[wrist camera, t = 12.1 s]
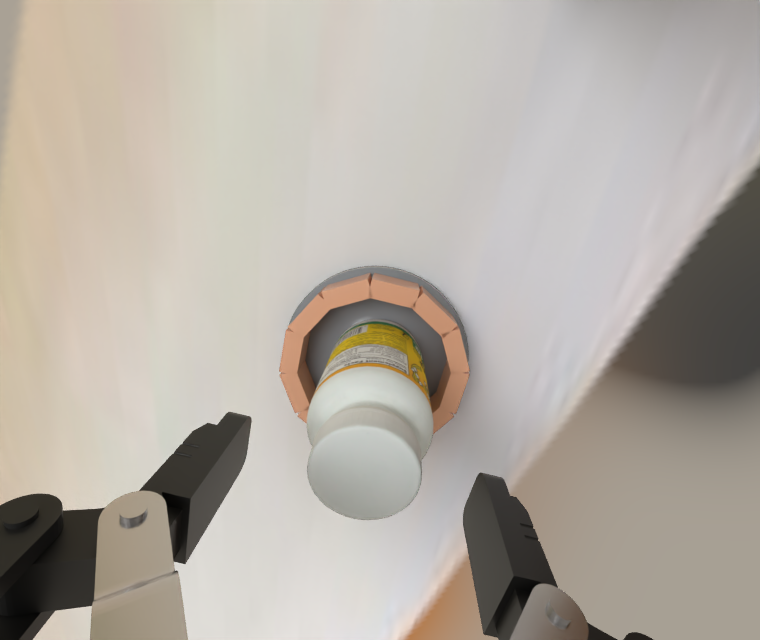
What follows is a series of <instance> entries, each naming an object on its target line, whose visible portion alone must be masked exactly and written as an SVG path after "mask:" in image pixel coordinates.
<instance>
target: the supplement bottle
mask: <svg viewBox="0 0 760 640" xmlns="http://www.w3.org/2000/svg"><path fill="white" fill-rule="evenodd" d="M307 432H308V436H309V440H310V443H311V445H312V449H311V453H310V456H309V460H308V466H307V473H308V479H309V483H310V485H311V488H312V490H313V492H314V493H315V495H316V496H317V497H318V498H319V499H320V501H321V502H322V503H323V504H324V505H326V506H327V507H328V508H330V509H331V510H333V511H335V512H337V513H339V514H341V515H344V516H346V517H350V518H354V519H361V520H374V519H381V518H386V517H389V516H392V515H394V514H396V513H398V512H400V511H401V510H403V509H404V508H405V507H407V506H408V505H409V504H410V503H411V502H412V500H413V499H414V498H415V496H416V495H417V493H418V490H419V488H420V485H421V479H422V462H421V460H422V459H423V457H424V456H425V454H426V453H427V451H428V449H429V446H430V443H431V440H432V436H433V414H432V408H431V403H430V397H429V391H428V386H427V379H426V374H425V368H424V362H423V357H422V353H421V350H420V348H419V346H418V344H417V342H416V340H415V339H414V337H413V336H412V335H411V334H410V333H409V332H408V331H407V330H406V329H405V328H404V327H402V326H401V325H399V324H396V323H394V322H391V321H387V320H381V319H372V320H366V321H362V322H360V323H357V324H355V325H353V326H351V327H350V328H349V329H347V330H346V331H345V332H344V333H343V334H342V335H341V336H340V338H339V339H338V341H337V342H336V344H335V346H334V348H333V350H332V353H331V355H330V358H329V360H328V363H327V365H326V368H325V370H324V372H323V375H322V377H321V379H320V381H319V384H318V386H317V388H316V391H315V393H314V395H313V398H312V400H311V403H310V406H309V409H308V414H307Z"/></svg>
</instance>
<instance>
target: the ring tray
mask: <svg viewBox="0 0 760 640" xmlns="http://www.w3.org/2000/svg"><path fill="white" fill-rule="evenodd" d="M372 319H381V320H387V321H391V322H394V323H396V324H399V325H401V326H402V327H404V328H405V329H406V330H407V331H408V332H409V333H410V334H411V335H412V336H413V337H414V339H415V340H416V342H417V344H418V346H419V348H420V350H421V353H422V357H423V362H424V368H425V374H426V379H427V386H428V391H429V397H430V403H431V408H432V414H433V434H434V433H435V432H436V431H437V430H439V429H440V428H441V427H442V426H443V425H445V424H446V423H447V422H448V421H449V420H451V419H452V418H453V417H454V416H453V413H454V414H456V412H457V409H458V407H459V404H460V401H461V398H462V395H463V392H464V390H465V387H466V384H467V381H468V378H469V372H468V371H470V370H469V366H468V345H467V339H466V335H465V332H464V328H463V325H462V323H461V321H460V319H459V317H458V315H457V313H456V311H455V310H454V308H453V307H452V305H451V304H450V302H449V301H448V300H447V299H446V298H445V296H444V295H443V294H442V293H441V292H440V291H439V290H437V289H436V288H435V287H434V286H433V285H432V284H430V283H429V282H427V281H425V280H424V279H422V278H421V277H418V276H416V275H414V274H412V273H410V272H407V271H404V270H401V269H397V268H391V267H386V266H366V267H358V268H354V269H349V270H346V271H343V272H341V273H338V274H336V275H334V276H332V277H330V278H328V279H326V280H325V281H324V282H322V283H321V284H319V285H318V286H317V287H316V288H315V289H314V290H313V291H312V292H310V293H309V294H308V295H307V296H306V297H305V298H304V300H303V301H302V302H301V304H300V305H299V306H298V308H297V309H296V311H295V313H294V314H293V316H292V318H291V321H290V323H289V326H288V329H287V330H286V333H285V339H284V345H283V351H282V357H281V363H280V369H279V372H281V374H280V378H281V380H282V382H283V385H284V387H285V390H286V392H287V395H288V397H289V399H290V402H291V404H292V407H293V409H294V412H295V413H297V412H299V414H298V417H299V418H300V419H302V420H303V421H304V422H305V423H307V414H308V409H309V406H310V403H311V400H312V398H313V395H314V393H315V391H316V388H317V386H318V384H319V381H320V379H321V377H322V375H323V372H324V370H325V368H326V365H327V363H328V360H329V358H330V355H331V353H332V350H333V348H334V346H335V344H336V342H337V341H338V339H339V338H340V336H341V335H342V334H343V333H344V332H345V331H346V330H347V329H349V328H350V327H351V326H353V325H355V324H357V323H360V322H362V321H366V320H372Z"/></svg>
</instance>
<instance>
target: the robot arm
mask: <svg viewBox="0 0 760 640" xmlns="http://www.w3.org/2000/svg"><path fill="white" fill-rule="evenodd" d="M250 428H251V417H249V416H245V415H241V414H237V413H233V412H228V413H227V414H226V415H225V416H224V417H223V419H222V420H221V421H220V422H219V423H218V425H214V424H210V423H207V424H205V425H203V426H201V427H200V428H198V429H196V430H194V431H193V432H192V433H191V434H190V435H189V436H188V437H187V438H186V439H185V441H184V442H183V444H182V445H180V446H179V447H178V448H177V449H176V451H175V452H174V454H172V455H171V456H170V457H169V458H168V459H167V460H166V462H165V463H164V464H163V465H162V466H161V467H160V468H159V469H158V470H157V472H156V473H155V474H154V475H153V476H152V477H151V478H150V479H149V480H148V481H147V483H146V484H145V485H144V486H143V487H142V488H141V489H140V490H139V491H136V492H131V493H128V494H125V495H123V496H121V497H119V498H117V499H115V500H114V501H112V502H111V503H110V504H109V505H107V506H106V508H100V509H86V510H68V511H63V508H62V503H61V501H60V500H59V499H58V498H57V497H55V496H53V495H49V494H31V495H26V496H22V497H19V498H16V499H13V500H11V501H8V502H6V503H4V504H2V505H0V640H33V638H34V637H35V636H36V634H37V633H38V632H39V631H40V629H41V628H42V627H43V625H44V624H45V623H46V622H47V620H48V619H49V618H50V616H51V615H52V614H53V613H54V611H55V610H63V609H71V608H78V607H86V606H92V614H91V632H90V640H188V637H187V629H186V622H185V615H184V607H183V600H182V593H181V585H180V579H179V574H178V571H175V568H174V562H178V563H183V564H186V562H187V560H188V559H189V557H190V555H191V554H192V552H193V550H194V549H195V547H196V545H197V544H198V542H199V540H200V539H201V537H202V535H203V534H204V532H205V530H206V528H207V527H208V525H209V523H210V522H211V520H212V518H213V517H214V515H215V513H216V512H217V510H218V508H219V507H220V505H221V503H222V502H223V500H224V498H225V497H226V495H227V493H228V492H229V490H230V488H231V487H232V485H233V483H234V482H235V480H236V478H237V476H238V475H239V473H240V471H241V469H242V467H243V465H244V462H245V459H246V455H247V449H248V442H249V435H250ZM463 527H464V532H465V537H466V543H467V548H468V553H469V559H470V564H471V569H472V575H473V580H474V586H475V591H476V596H477V601H478V607H479V612H480V618H481V623H482V628H483V634H484V635H489V636H493V637H497V638H498V639H499V640H617V639H615V638H613V637H612V636H610V635H608V634H606V633H604V632H602V631H601V630H599V629H597V628H595V627H594V626H592V625H590V624H589V623H587V621H586V619H585V616H584V614H583V613H582V611H581V610H580V608H579V606H578V605H577V604H576V603H575V602H574V601H573V599H571V597H570V596H568V595H567V594H566V593H565V592H563V591H562V590H560V589H558V586H557V584H556V581H555V579H554V576H553V574H552V572H551V569H550V566H549V564H548V561H547V559H546V557H545V554H544V551H543V549H542V547H541V544H540V542H539V541H538V537H537V534H536V532H535V529H533V524H532V522H531V519H530V517H529V514H528V512H527V510H526V509H525V508H524V506H523V505H522V504H521V503H520V501H519V500H518V499H517V498H516V497H513V496H510V495H509V492H508V489H507V486H506V484H505V481H504V479H503V478H501V477H497V476H493V475H489V474H485V473H479V474H478V476H477V478H476V480H475V483H474V485H473V488H472V490H471V493H470V495H469V497H468V500H467V502H466V505H465V508H464V513H463ZM624 640H653V639H652V638H650V637H648V636H646V635H643V634H641V633H636V632H634V633H633V632H632V633H629V634H628V635H626V637H625V638H624Z"/></svg>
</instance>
